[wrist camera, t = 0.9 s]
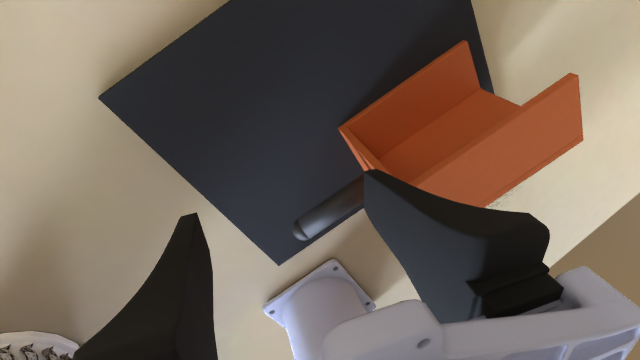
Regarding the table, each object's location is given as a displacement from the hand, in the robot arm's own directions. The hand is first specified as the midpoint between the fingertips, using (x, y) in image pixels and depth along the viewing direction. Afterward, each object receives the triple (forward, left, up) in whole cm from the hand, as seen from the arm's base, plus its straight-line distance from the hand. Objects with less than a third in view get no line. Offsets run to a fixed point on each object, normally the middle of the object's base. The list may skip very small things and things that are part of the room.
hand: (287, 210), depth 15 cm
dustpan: (-6, -7, -10) cm, 13 cm away
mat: (-3, -5, -10) cm, 12 cm away
